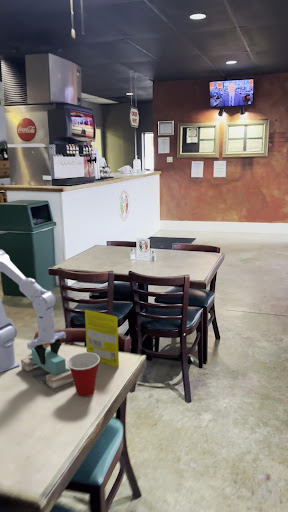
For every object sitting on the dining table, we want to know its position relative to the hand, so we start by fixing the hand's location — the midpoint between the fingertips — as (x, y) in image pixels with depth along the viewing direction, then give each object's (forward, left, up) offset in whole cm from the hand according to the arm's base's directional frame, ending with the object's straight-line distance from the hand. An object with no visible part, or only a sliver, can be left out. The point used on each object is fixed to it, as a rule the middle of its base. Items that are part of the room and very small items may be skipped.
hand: (48, 361), depth 157 cm
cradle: (0, 0, -5) cm, 5 cm away
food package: (+6, +20, -5) cm, 21 cm away
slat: (0, 0, -2) cm, 2 cm away
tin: (-23, +12, -6) cm, 26 cm away
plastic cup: (+19, +2, -5) cm, 20 cm away
